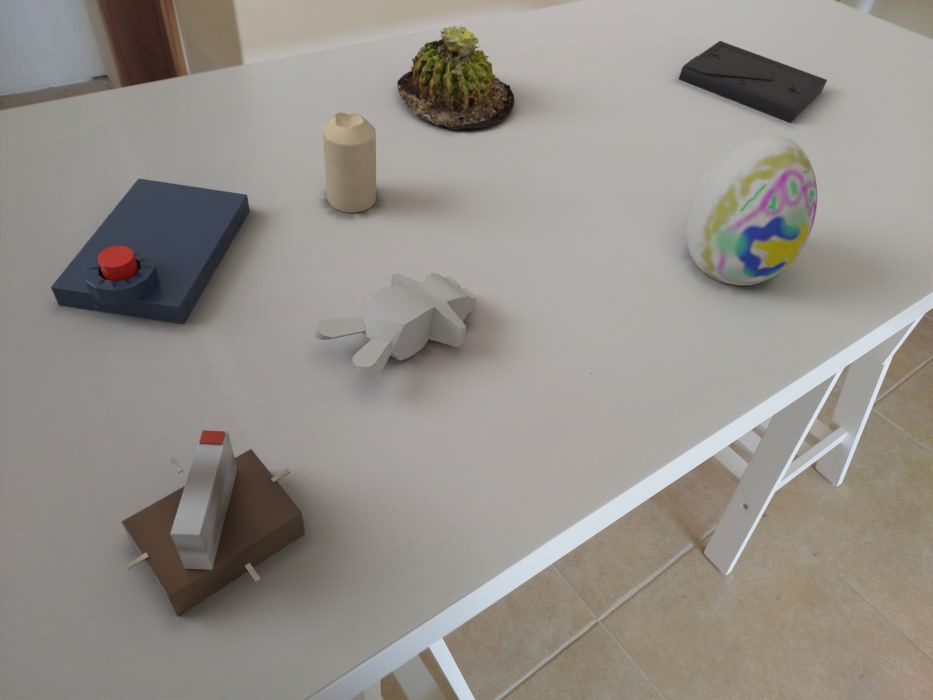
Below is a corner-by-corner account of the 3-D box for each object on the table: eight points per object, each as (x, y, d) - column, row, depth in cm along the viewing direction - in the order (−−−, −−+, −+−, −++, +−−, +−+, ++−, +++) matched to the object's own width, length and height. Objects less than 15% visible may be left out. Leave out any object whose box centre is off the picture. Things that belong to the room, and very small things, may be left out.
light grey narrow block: (212, 570, 49) (199, 533, 45) (184, 569, 48) (169, 532, 45) (237, 468, 54) (227, 428, 51) (213, 467, 54) (201, 427, 51)
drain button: (129, 284, 66) (124, 269, 64) (96, 279, 66) (91, 264, 65) (143, 263, 68) (139, 248, 67) (112, 258, 68) (107, 243, 67)
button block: (179, 331, 67) (170, 299, 64) (52, 311, 68) (37, 278, 65) (250, 211, 80) (244, 180, 77) (143, 195, 81) (134, 163, 78)
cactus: (528, 129, 97) (539, 57, 90) (409, 135, 94) (411, 61, 87) (495, 68, 108) (503, 0, 101) (388, 71, 105) (388, 1, 98)
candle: (316, 200, 83) (310, 118, 75) (349, 179, 86) (346, 99, 79) (354, 219, 81) (351, 138, 74) (386, 197, 84) (386, 117, 77)
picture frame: (678, 79, 111) (790, 123, 104) (683, 64, 109) (797, 108, 103) (715, 52, 119) (822, 91, 112) (720, 38, 117) (828, 77, 110)
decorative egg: (700, 304, 76) (753, 179, 65) (657, 230, 84) (697, 109, 73) (806, 295, 78) (874, 173, 67) (754, 224, 86) (807, 106, 75)
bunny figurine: (501, 299, 68) (374, 362, 59) (490, 340, 71) (369, 406, 62) (432, 248, 72) (304, 299, 63) (425, 289, 75) (303, 344, 66)
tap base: (179, 657, 48) (169, 638, 45) (101, 526, 53) (88, 503, 51) (338, 550, 54) (335, 527, 51) (251, 442, 59) (246, 418, 57)
